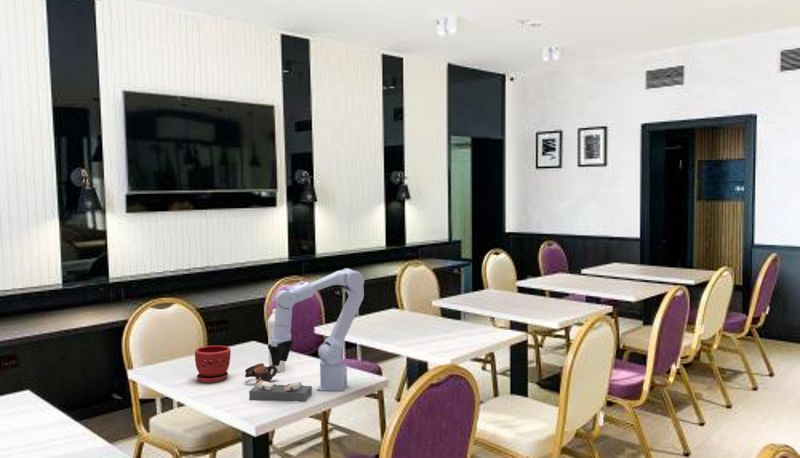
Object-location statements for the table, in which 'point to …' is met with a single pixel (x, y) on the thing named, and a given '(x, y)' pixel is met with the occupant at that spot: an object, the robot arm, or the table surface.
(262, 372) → the pottery mug
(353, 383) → the table surface
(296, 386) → the block
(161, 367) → the table surface
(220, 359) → the plant pot
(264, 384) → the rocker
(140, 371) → the table surface
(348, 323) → the robot arm
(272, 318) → the water bottle
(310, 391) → the power strip
